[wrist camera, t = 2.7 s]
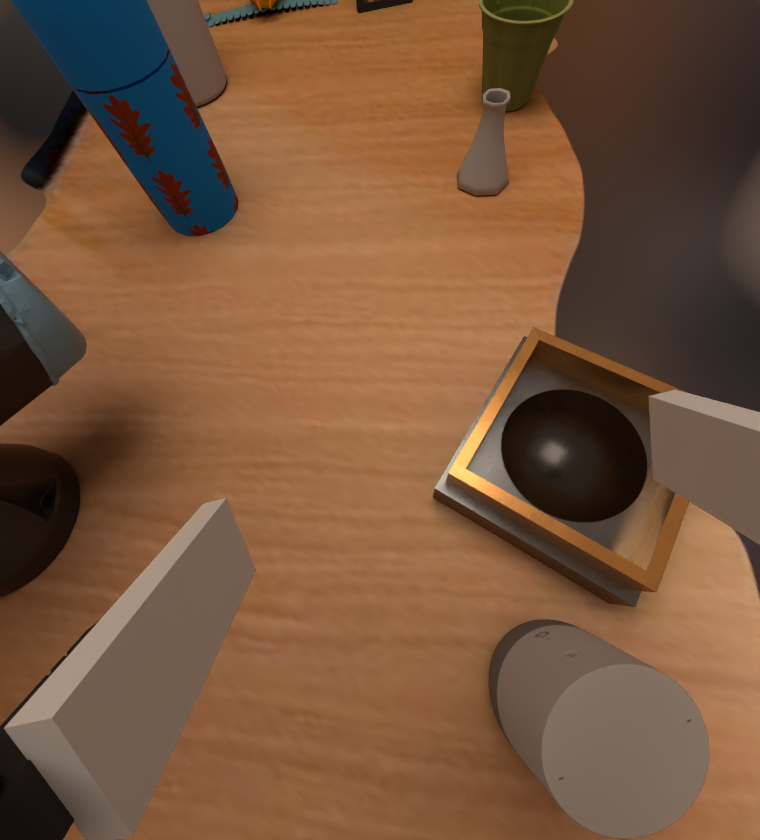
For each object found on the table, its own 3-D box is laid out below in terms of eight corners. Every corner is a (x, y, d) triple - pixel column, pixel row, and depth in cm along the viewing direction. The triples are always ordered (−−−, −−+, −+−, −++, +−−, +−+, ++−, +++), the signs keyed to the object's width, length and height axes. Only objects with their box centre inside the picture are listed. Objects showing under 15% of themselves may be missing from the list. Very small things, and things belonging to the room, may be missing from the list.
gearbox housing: (609, 603, 32) (659, 610, 25) (432, 497, 36) (436, 480, 30) (677, 431, 37) (733, 401, 30) (514, 357, 41) (532, 317, 35)
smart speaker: (516, 774, 28) (602, 944, 15) (463, 640, 32) (496, 686, 19) (629, 723, 29) (806, 846, 16) (564, 598, 32) (665, 613, 19)
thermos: (236, 231, 53) (97, -36, 30) (162, 241, 53) (-31, -15, 30) (241, 179, 57) (123, -91, 34) (173, 188, 57) (11, -71, 34)
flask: (501, 202, 50) (520, 119, 41) (449, 192, 52) (456, 110, 43) (514, 167, 53) (535, 81, 44) (464, 159, 54) (474, 74, 45)
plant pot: (489, 132, 56) (506, 31, 46) (454, 91, 61) (463, -9, 50) (560, 107, 57) (593, 3, 47) (521, 69, 61) (542, -34, 51)
